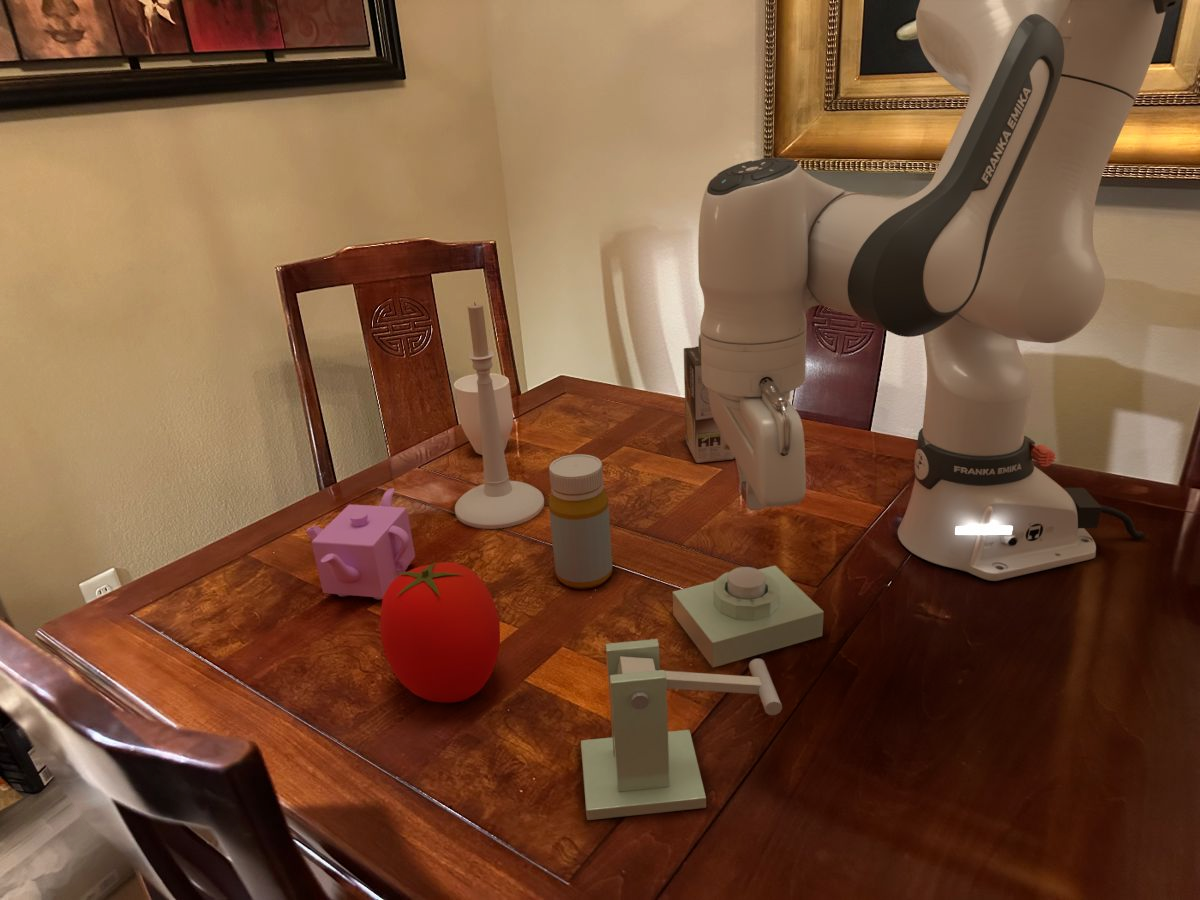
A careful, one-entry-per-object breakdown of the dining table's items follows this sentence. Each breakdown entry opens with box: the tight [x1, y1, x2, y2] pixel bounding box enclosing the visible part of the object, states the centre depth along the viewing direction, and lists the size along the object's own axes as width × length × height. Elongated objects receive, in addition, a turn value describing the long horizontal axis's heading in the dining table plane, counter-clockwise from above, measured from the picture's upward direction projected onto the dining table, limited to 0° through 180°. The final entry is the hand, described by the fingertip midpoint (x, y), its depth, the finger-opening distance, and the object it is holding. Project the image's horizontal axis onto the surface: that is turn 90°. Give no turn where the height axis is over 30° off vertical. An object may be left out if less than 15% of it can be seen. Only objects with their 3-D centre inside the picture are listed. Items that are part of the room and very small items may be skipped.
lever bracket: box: [580, 638, 707, 821], centre depth 71 cm, size 10×8×13 cm
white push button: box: [727, 566, 766, 600], centre depth 90 cm, size 4×4×2 cm
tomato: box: [379, 561, 501, 704], centre depth 83 cm, size 13×11×14 cm
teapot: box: [305, 487, 416, 600], centre depth 103 cm, size 18×13×10 cm
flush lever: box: [617, 656, 783, 716], centre depth 70 cm, size 13×6×2 cm, turn 94°
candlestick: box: [454, 301, 545, 530], centre depth 115 cm, size 13×13×30 cm
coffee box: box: [683, 345, 735, 464], centre depth 131 cm, size 9×6×16 cm
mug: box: [453, 372, 514, 456], centre depth 138 cm, size 12×9×12 cm
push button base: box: [672, 565, 825, 668], centre depth 91 cm, size 13×10×5 cm
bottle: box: [548, 453, 613, 590], centre depth 100 cm, size 7×7×15 cm
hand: (753, 502), depth 78 cm, fingers closed
